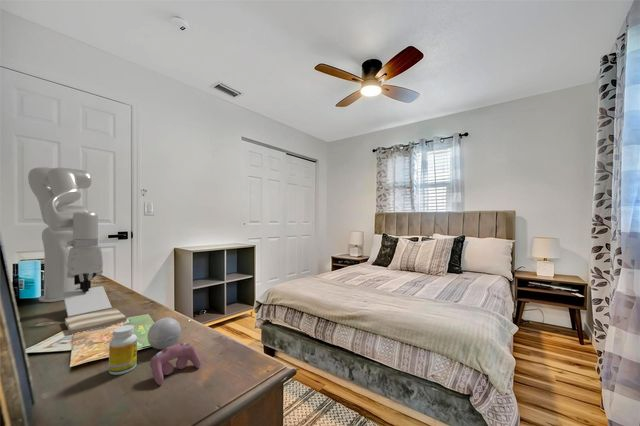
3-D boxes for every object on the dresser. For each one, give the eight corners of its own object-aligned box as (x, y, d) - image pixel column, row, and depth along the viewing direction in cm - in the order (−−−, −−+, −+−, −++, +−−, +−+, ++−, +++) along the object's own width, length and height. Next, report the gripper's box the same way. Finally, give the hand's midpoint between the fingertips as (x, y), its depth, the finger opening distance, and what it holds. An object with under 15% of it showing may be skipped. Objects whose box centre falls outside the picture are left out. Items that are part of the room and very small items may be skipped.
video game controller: (195, 368, 68) (189, 339, 70) (203, 366, 65) (197, 336, 67) (150, 388, 60) (145, 355, 62) (158, 386, 57) (152, 351, 59)
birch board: (126, 321, 93) (126, 317, 93) (71, 335, 83) (71, 330, 83) (115, 312, 102) (115, 308, 102) (64, 322, 92) (65, 318, 92)
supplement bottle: (108, 368, 65) (108, 327, 65) (135, 360, 68) (135, 322, 68) (109, 378, 61) (109, 335, 61) (138, 370, 64) (138, 329, 64)
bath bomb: (184, 348, 75) (184, 319, 75) (150, 358, 69) (150, 326, 69) (176, 338, 81) (176, 311, 81) (144, 347, 75) (145, 317, 76)
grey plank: (111, 310, 103) (111, 307, 102) (68, 319, 94) (68, 316, 93) (102, 289, 113) (102, 285, 112) (62, 295, 104) (62, 292, 103)
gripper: (60, 245, 99) (60, 297, 98) (111, 242, 110) (111, 288, 109) (57, 244, 103) (57, 293, 103) (107, 241, 115) (106, 285, 114)
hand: (85, 291), depth 106 cm, fingers closed
